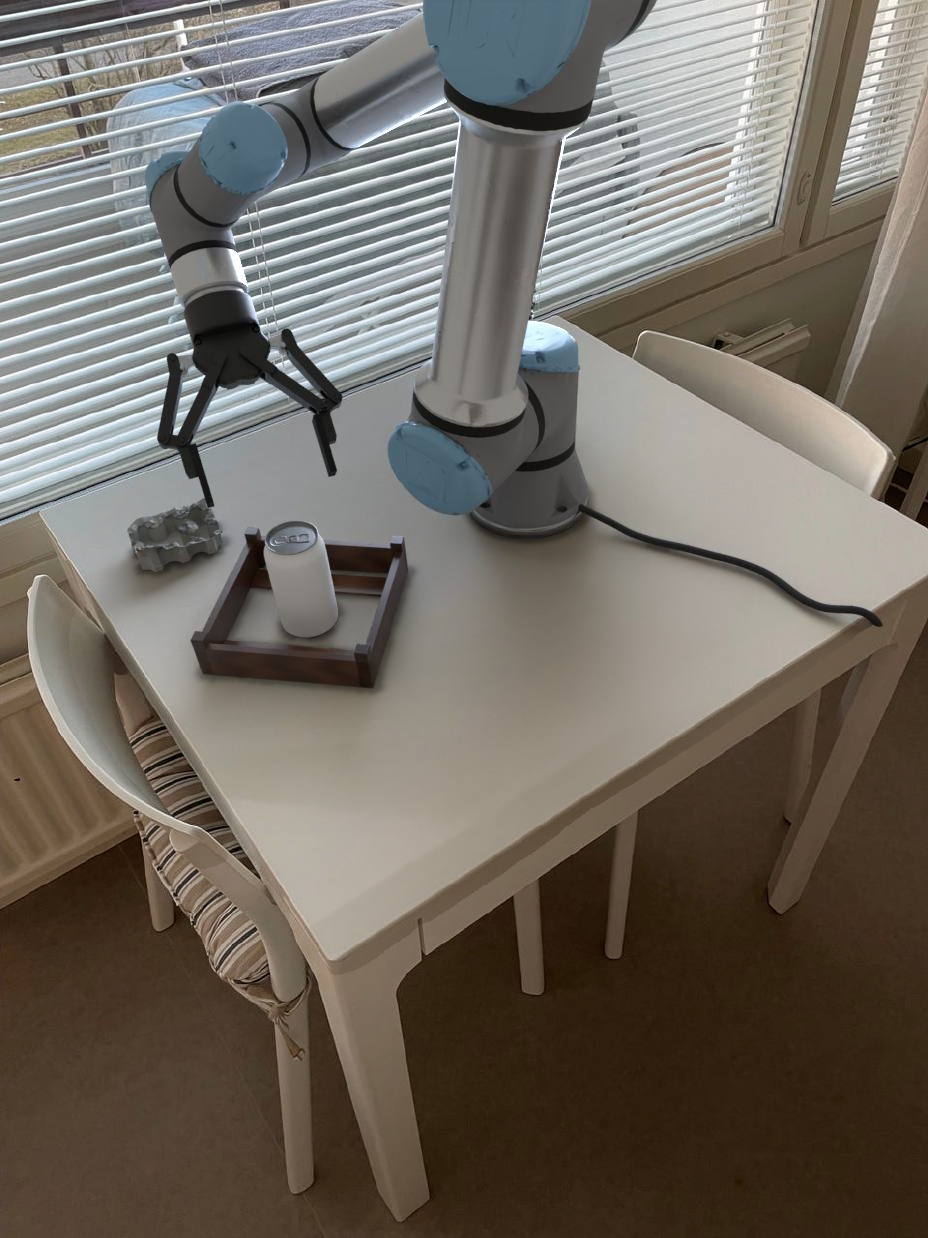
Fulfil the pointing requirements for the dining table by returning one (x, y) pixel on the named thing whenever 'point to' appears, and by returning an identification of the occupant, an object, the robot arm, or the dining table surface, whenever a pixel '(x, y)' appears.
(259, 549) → the crate
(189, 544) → the egg carton
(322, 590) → the can
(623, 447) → the dining table surface
